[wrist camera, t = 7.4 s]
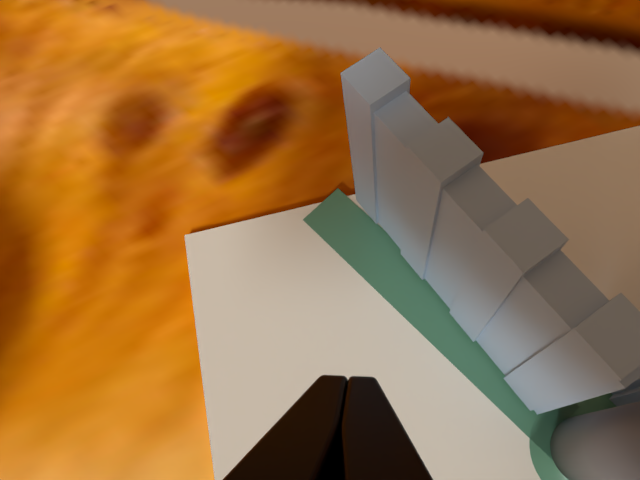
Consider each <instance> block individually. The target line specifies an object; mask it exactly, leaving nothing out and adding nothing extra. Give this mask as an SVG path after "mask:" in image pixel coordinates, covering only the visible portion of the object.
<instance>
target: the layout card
mask: <svg viewBox="0 0 640 480" xmlns="http://www.w3.org/2000/svg"><path fill="white" fill-rule="evenodd" d="M480 167H481V168H482V169H483V170H484V171H485V172H486V173H487V174H488V175H489V177H490V178H491V179H492V180H493V181H494V182H495V183H496V184H497V185H498V186H499V187H500V188H501V189H502V190H503V191H504V192H505V193H506V194H507V195H508V196H509V197H510V198H511V199H512V200H513V201H514V202H515V203H516V204H517V205H518V204H520V203H521V202H523V201H524V200H525V199H527V198H529V199H530V200H531V201H532V202H533V203H534V204H535V205H536V207H537V208H538V209H539V210H540V211H541V212H542V213H543V214H544V215H545V216H546V217H547V218H548V219H549V220H550V221H551V222H552V223H553V224H554V225H555V226H556V227H557V228H558V229H559V230H560V231H561V232H562V233H563V234H564V235H565V236H566V237H567V238H568V239H569V240H568V241H567V242H566V244H565V245H564V246H563V247H562V249H561V251H562V252H563V253H564V254H565V255H566V256H567V257H568V258H569V259H570V260H571V261H572V262H573V263H574V264H575V265H576V267H577V268H578V269H579V270H580V271H581V272H582V273H583V274H584V275H585V276H586V277H587V278H588V279H589V280H590V281H591V282H592V283H593V284H594V285H595V286H596V287H597V288H598V289H599V290H600V291H601V292H602V293H603V294H604V296H605V297H606V298H607V299H608V300H609V301H610V300H611V299H613V298H614V297H615V296H617V295H618V294H620V293H622V294H623V295H624V296H625V297H626V298H627V299H628V300H629V301H630V302H631V303H632V304H633V305H634V306H635V307H636V308H637V309H638V310H639V311H640V126H636V127H631V128H627V129H623V130H619V131H615V132H611V133H606V134H602V135H598V136H594V137H590V138H586V139H582V140H577V141H573V142H569V143H565V144H561V145H557V146H553V147H548V148H544V149H540V150H536V151H532V152H528V153H523V154H519V155H515V156H511V157H507V158H503V159H499V160H494V161H490V162H486V163H482V164H480ZM184 236H185V244H186V252H187V260H188V268H189V276H190V284H191V292H192V300H193V308H194V316H195V324H196V333H197V341H198V349H199V357H200V365H201V373H202V381H203V389H204V397H205V405H206V413H207V421H208V429H209V437H210V445H211V454H212V462H213V470H214V478H215V480H223V479H224V478H225V476H226V475H227V474H228V473H229V472H230V471H231V470H232V469H233V468H234V467H235V466H236V465H237V464H238V463H239V462H240V460H241V459H242V458H243V457H244V456H245V455H246V454H247V453H248V452H249V451H250V450H251V449H252V448H253V447H254V446H255V445H256V443H257V442H258V441H259V440H260V439H261V438H262V437H263V436H264V435H265V434H266V433H267V432H268V431H269V430H270V429H271V427H272V426H273V425H274V424H275V423H276V422H277V421H278V420H279V419H280V418H281V417H282V416H283V415H284V414H285V413H286V412H287V410H288V409H289V408H290V407H291V406H292V405H293V404H294V403H295V402H296V401H297V400H298V399H299V398H300V397H301V396H302V394H303V393H304V392H305V391H306V390H307V389H308V388H309V387H310V386H311V385H312V384H313V383H314V382H315V381H316V380H317V379H318V377H320V376H321V375H342V376H345V377H347V379H349V378H350V377H351V376H367V377H374V378H376V380H377V381H378V383H379V384H380V386H381V388H382V390H383V392H384V393H385V395H386V397H387V399H388V400H389V402H390V404H391V406H392V407H393V409H394V411H395V413H396V415H397V416H398V418H399V420H400V422H401V423H402V425H403V427H404V429H405V431H406V432H407V434H408V436H409V438H410V439H411V441H412V443H413V445H414V446H415V448H416V450H417V452H418V454H419V455H420V457H421V459H422V461H423V462H424V464H425V466H426V468H427V470H428V471H429V473H430V475H431V477H432V478H433V480H568V479H567V478H566V477H565V476H564V475H563V474H562V473H561V472H560V471H559V470H558V468H557V467H556V465H555V463H554V461H553V459H552V455H551V450H550V442H551V437H552V434H553V432H554V430H555V428H556V427H557V426H558V425H559V424H560V423H561V422H562V421H564V420H565V419H567V418H570V417H574V416H578V415H583V414H587V413H591V412H596V411H600V410H604V409H609V408H613V407H617V406H616V405H615V404H614V403H613V402H611V401H610V400H609V399H610V398H611V396H612V395H613V394H612V393H608V394H605V395H601V396H598V397H595V398H591V399H588V400H584V401H581V402H578V403H574V404H571V405H568V406H564V407H561V408H558V409H554V410H551V411H547V412H544V413H541V414H536V412H535V411H534V410H531V411H530V410H529V409H528V408H527V406H526V405H525V404H524V403H523V402H522V400H521V399H520V398H519V397H518V396H517V394H516V393H515V392H514V391H513V390H512V388H511V387H510V386H509V385H508V383H507V382H506V381H505V380H504V379H503V378H504V377H505V375H504V374H503V372H502V371H501V370H500V369H499V368H498V366H497V365H496V364H495V363H494V362H493V360H492V359H491V358H490V357H489V356H488V354H487V353H486V352H485V351H484V350H483V348H482V347H481V346H480V345H479V343H478V342H477V341H474V342H473V341H472V340H471V339H470V337H469V336H468V335H467V334H466V332H465V331H464V330H463V329H462V328H461V326H460V325H459V324H458V323H457V322H456V320H455V319H454V318H453V317H452V315H451V314H450V313H449V312H450V308H449V307H448V306H447V305H446V304H445V302H444V301H443V300H442V299H441V298H440V296H439V295H438V294H437V293H436V292H435V290H434V289H433V288H432V287H431V285H430V284H429V283H428V282H427V281H426V279H423V280H422V279H421V278H420V277H419V275H418V274H417V273H416V272H415V271H414V269H413V268H412V267H411V266H410V265H409V263H408V262H407V261H406V260H405V258H404V257H403V256H402V255H401V249H400V248H399V247H398V246H397V244H396V243H395V242H394V241H393V240H392V238H391V237H390V236H389V235H388V233H387V232H386V231H385V230H384V229H383V227H382V226H381V225H380V224H379V223H377V224H376V223H375V222H374V221H373V220H372V218H371V217H370V216H369V215H368V214H367V212H366V211H365V210H364V209H363V208H362V206H361V205H360V204H359V203H358V201H357V200H356V194H353V195H349V196H346V195H345V194H344V193H343V192H342V191H341V190H340V189H338V188H337V189H336V190H335V191H334V192H333V193H332V194H331V195H330V196H329V197H327V198H326V199H325V200H324V201H323V202H320V203H316V204H312V205H308V206H304V207H299V208H295V209H291V210H287V211H283V212H279V213H275V214H270V215H266V216H262V217H258V218H254V219H250V220H246V221H241V222H237V223H233V224H229V225H225V226H221V227H216V228H212V229H208V230H204V231H200V232H196V233H192V234H187V235H184Z"/></svg>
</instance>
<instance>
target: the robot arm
mask: <svg viewBox="0 0 640 480" xmlns="http://www.w3.org/2000/svg"><path fill="white" fill-rule="evenodd" d="M223 480H433V478H432V477H431V475H430V473H429V471H428V470H427V468H426V466H425V464H424V462H423V461H422V459H421V457H420V455H419V454H418V452H417V450H416V448H415V446H414V445H413V443H412V441H411V439H410V438H409V436H408V434H407V432H406V431H405V429H404V427H403V425H402V423H401V422H400V420H399V418H398V416H397V415H396V413H395V411H394V409H393V407H392V406H391V404H390V402H389V400H388V399H387V397H386V395H385V393H384V392H383V390H382V388H381V386H380V384H379V383H378V381H377V380H376V378H374V377H367V376H351V377H350V378H349V379H347V377H345V376H342V375H321V376H320V377H318V379H317V380H316V381H315V382H314V383H313V384H312V385H311V386H310V387H309V388H308V389H307V390H306V391H305V392H304V393H303V394H302V396H301V397H300V398H299V399H298V400H297V401H296V402H295V403H294V404H293V405H292V406H291V407H290V408H289V409H288V410H287V412H286V413H285V414H284V415H283V416H282V417H281V418H280V419H279V420H278V421H277V422H276V423H275V424H274V425H273V426H272V427H271V429H270V430H269V431H268V432H267V433H266V434H265V435H264V436H263V437H262V438H261V439H260V440H259V441H258V442H257V443H256V445H255V446H254V447H253V448H252V449H251V450H250V451H249V452H248V453H247V454H246V455H245V456H244V457H243V458H242V459H241V460H240V462H239V463H238V464H237V465H236V466H235V467H234V468H233V469H232V470H231V471H230V472H229V473H228V474H227V475H226V476H225V478H224V479H223Z"/></svg>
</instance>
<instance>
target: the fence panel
mask: <svg viewBox="0 0 640 480" xmlns="http://www.w3.org/2000/svg"><path fill="white" fill-rule="evenodd" d="M341 81H342V89H343V97H344V105H345V113H346V121H347V129H348V137H349V145H350V153H351V161H352V169H353V177H354V185H355V193H356V200H357V201H358V203H359V204H360V205H361V206H362V208H363V209H364V210H365V211H366V212H367V214H368V215H369V216H370V217H371V218H372V220H373V221H374V222H375V223H376V224H377V223H379V224H380V225H381V226H382V227H383V229H384V230H385V231H386V232H387V233H388V235H389V236H390V237H391V238H392V240H393V241H394V242H395V243H396V244H397V246H398V247H399V248H400V249H401V255H402V256H403V257H404V258H405V260H406V261H407V262H408V263H409V265H410V266H411V267H412V268H413V269H414V271H415V272H416V273H417V274H418V275H419V277H420V278H421V279H422V280H423V279H426V281H427V282H428V283H429V284H430V285H431V287H432V288H433V289H434V290H435V292H436V293H437V294H438V295H439V296H440V298H441V299H442V300H443V301H444V302H445V304H446V305H447V306H448V307H449V308H450V312H449V313H450V314H451V315H452V317H453V318H454V319H455V320H456V322H457V323H458V324H459V325H460V326H461V328H462V329H463V330H464V331H465V332H466V334H467V335H468V336H469V337H470V339H471V340H472V341H473V342H474V341H477V342H478V343H479V345H480V346H481V347H482V348H483V350H484V351H485V352H486V353H487V354H488V356H489V357H490V358H491V359H492V360H493V362H494V363H495V364H496V365H497V366H498V368H499V369H500V370H501V371H502V372H503V374H504V375H505V377H504V378H503V379H504V380H505V381H506V382H507V383H508V385H509V386H510V387H511V388H512V390H513V391H514V392H515V393H516V394H517V396H518V397H519V398H520V399H521V400H522V402H523V403H524V404H525V405H526V406H527V408H528V409H529V410H530V411H531V410H534V411H535V412H536V414H541V413H544V412H547V411H551V410H554V409H558V408H561V407H564V406H568V405H571V404H574V403H578V402H581V401H584V400H588V399H591V398H595V397H598V396H601V395H605V394H608V393H611V392H615V391H618V390H621V389H625V388H626V387H628V386H629V385H630V384H631V383H633V382H634V381H635V380H637V379H638V378H639V377H640V311H639V310H638V309H637V308H636V307H635V306H634V305H633V304H632V303H631V302H630V301H629V300H628V299H627V298H626V297H625V296H624V295H623V294H622V293H620V294H618V295H617V296H615V297H614V298H613V299H611V300H610V301H609V300H608V299H607V298H606V297H605V296H604V294H603V293H602V292H601V291H600V290H599V289H598V288H597V287H596V286H595V285H594V284H593V283H592V282H591V281H590V280H589V279H588V278H587V277H586V276H585V275H584V274H583V273H582V272H581V271H580V270H579V269H578V268H577V267H576V265H575V264H574V263H573V262H572V261H571V260H570V259H569V258H568V257H567V256H566V255H565V254H564V253H563V252H562V251H561V249H562V247H563V246H564V245H565V244H566V242H567V241H568V240H569V239H568V238H567V237H566V236H565V235H564V234H563V233H562V232H561V231H560V230H559V229H558V228H557V227H556V226H555V225H554V224H553V223H552V222H551V221H550V220H549V219H548V218H547V217H546V216H545V215H544V214H543V213H542V212H541V211H540V210H539V209H538V208H537V207H536V205H535V204H534V203H533V202H532V201H531V200H530V199H529V198H527V199H525V200H524V201H523V202H521V203H520V204H518V205H517V204H516V203H515V202H514V201H513V200H512V199H511V198H510V197H509V196H508V195H507V194H506V193H505V192H504V191H503V190H502V189H501V188H500V187H499V186H498V185H497V184H496V183H495V182H494V181H493V180H492V179H491V178H490V177H489V175H488V174H487V173H486V172H485V171H484V170H483V169H482V168H481V167H480V163H481V160H482V156H483V152H482V151H481V150H480V149H479V147H478V146H477V145H476V144H475V143H474V142H473V141H472V140H471V139H470V138H469V137H468V136H467V135H466V134H465V133H464V132H463V131H462V130H461V129H460V128H459V127H458V126H457V125H456V124H455V123H454V122H453V121H452V120H451V119H450V118H449V117H448V118H446V119H445V120H443V121H442V122H440V123H439V124H438V123H437V122H436V121H435V120H434V119H433V118H432V116H431V115H430V114H429V113H428V112H427V111H426V110H425V109H424V108H423V107H422V106H421V105H420V104H419V103H418V102H417V101H416V100H415V99H414V98H413V97H412V96H411V95H410V77H409V76H408V75H407V74H406V73H405V72H404V71H403V70H402V69H401V68H400V67H399V66H398V65H397V64H396V63H395V62H394V61H393V60H392V59H391V58H390V57H389V56H388V55H387V54H386V53H385V52H384V51H383V50H382V49H381V48H378V49H377V50H375V51H374V52H372V53H370V54H369V55H367V56H366V57H364V58H363V59H361V60H360V61H358V62H357V63H355V64H354V65H352V66H350V67H349V68H347V69H346V70H344V71H343V72H341Z"/></svg>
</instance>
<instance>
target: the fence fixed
mask: <svg viewBox="0 0 640 480" xmlns="http://www.w3.org/2000/svg"><path fill="white" fill-rule="evenodd" d="M611 393H612V394H613V395H612V396H611V398H610V399H609V400H610V401H611V402H613V403H614V404H615V405H616V406H617V407H613V408H609V409H604V410H600V411H596V412H591V413H587V414H583V415H578V416H574V417H570V418H567V419H565V420H564V421H562V422H561V423H560V424H559V425H558V426H557V427H556V428H555V430H554V432H553V434H552V437H551V442H550V450H551V455H552V459H553V461H554V463H555V465H556V467H557V468H558V470H559V471H560V472H561V473H562V474H563V475H564V476H565V477H566V478H567V479H568V480H640V377H639V378H638V379H637V380H635V381H634V382H633V383H631V384H630V385H629V386H628V387H626V388H625V389H621V390H618V391H615V392H611Z"/></svg>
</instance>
